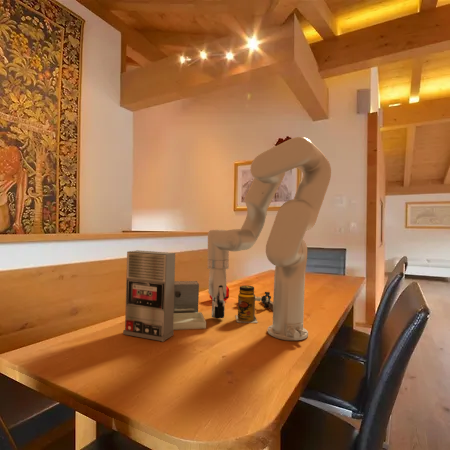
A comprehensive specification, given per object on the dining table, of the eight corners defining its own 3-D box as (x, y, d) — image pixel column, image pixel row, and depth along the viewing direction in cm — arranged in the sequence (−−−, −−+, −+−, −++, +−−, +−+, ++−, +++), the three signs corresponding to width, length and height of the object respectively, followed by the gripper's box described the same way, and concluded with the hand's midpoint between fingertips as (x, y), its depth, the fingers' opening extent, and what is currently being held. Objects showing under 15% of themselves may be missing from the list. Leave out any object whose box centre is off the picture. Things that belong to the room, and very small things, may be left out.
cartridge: (226, 317, 110) (227, 300, 110) (215, 319, 107) (216, 301, 107) (220, 314, 114) (220, 298, 114) (209, 315, 111) (210, 298, 111)
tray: (205, 328, 101) (206, 322, 101) (171, 329, 99) (171, 323, 99) (201, 317, 112) (201, 312, 112) (169, 318, 110) (169, 313, 110)
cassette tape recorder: (122, 335, 93) (124, 251, 93) (135, 328, 99) (137, 250, 98) (162, 342, 88) (165, 254, 88) (173, 335, 94) (176, 252, 94)
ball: (219, 304, 131) (220, 286, 131) (206, 301, 136) (206, 283, 136) (231, 301, 137) (232, 284, 137) (218, 298, 142) (218, 281, 142)
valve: (239, 307, 130) (265, 310, 124) (237, 292, 129) (263, 295, 123) (246, 301, 136) (271, 304, 129) (244, 287, 135) (270, 289, 128)
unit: (198, 317, 112) (199, 284, 112) (170, 318, 110) (171, 284, 110) (195, 312, 119) (196, 280, 119) (169, 313, 116) (170, 281, 116)
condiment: (237, 322, 108) (238, 288, 108) (235, 315, 116) (236, 283, 116) (257, 323, 108) (259, 288, 108) (254, 316, 117) (255, 284, 116)
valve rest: (276, 310, 124) (276, 304, 124) (247, 311, 122) (247, 305, 122) (264, 301, 138) (264, 296, 138) (238, 302, 135) (238, 296, 135)
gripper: (204, 261, 118) (204, 310, 118) (211, 267, 102) (211, 323, 101) (223, 261, 120) (223, 309, 119) (234, 267, 103) (233, 322, 103)
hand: (217, 315), depth 110 cm, fingers closed on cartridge, 4 cm apart
